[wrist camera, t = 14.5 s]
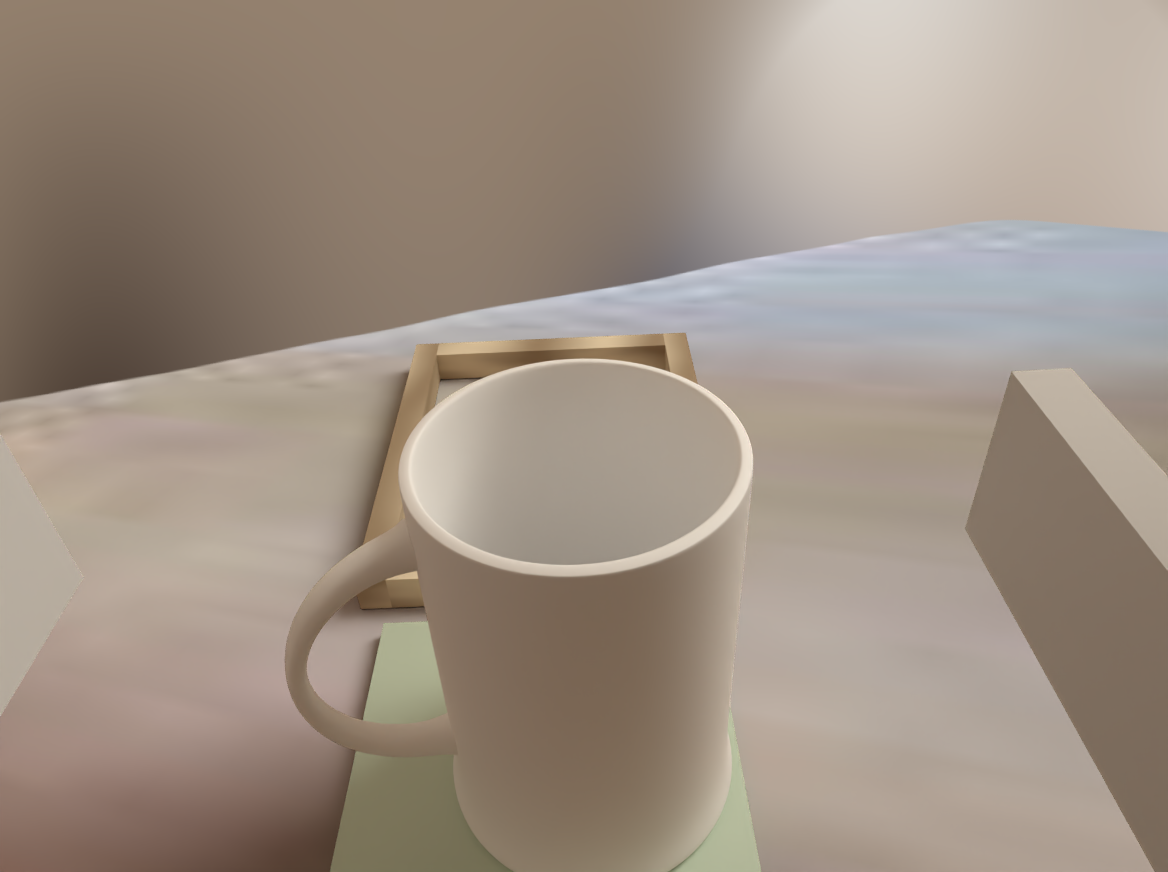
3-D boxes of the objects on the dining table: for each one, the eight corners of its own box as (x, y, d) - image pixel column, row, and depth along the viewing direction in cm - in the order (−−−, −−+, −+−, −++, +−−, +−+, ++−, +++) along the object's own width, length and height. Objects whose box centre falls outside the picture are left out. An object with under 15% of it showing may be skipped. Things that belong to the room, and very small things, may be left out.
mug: (348, 966, 22) (210, 664, 15) (344, 697, 29) (246, 401, 22) (777, 851, 24) (835, 536, 17) (678, 624, 31) (690, 331, 24)
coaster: (711, 620, 32) (712, 609, 31) (777, 979, 22) (779, 969, 22) (386, 634, 32) (383, 623, 31) (309, 998, 22) (304, 988, 22)
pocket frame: (684, 356, 47) (685, 332, 46) (737, 593, 33) (740, 564, 32) (420, 368, 47) (416, 344, 46) (360, 609, 33) (352, 581, 32)
